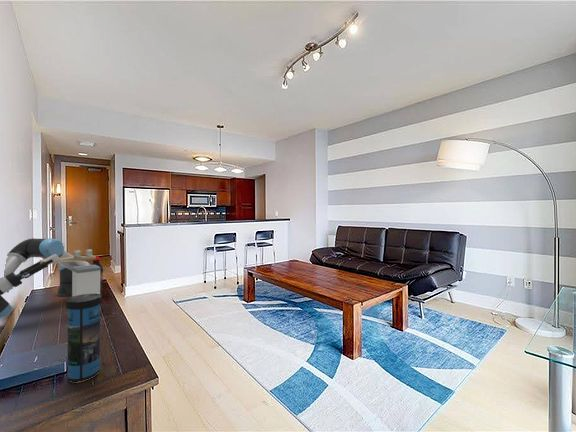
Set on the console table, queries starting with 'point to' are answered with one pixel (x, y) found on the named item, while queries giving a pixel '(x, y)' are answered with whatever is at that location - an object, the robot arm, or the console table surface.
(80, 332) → the advertising column
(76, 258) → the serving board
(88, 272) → the grey-banded white block
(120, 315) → the console table surface
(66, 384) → the console table surface
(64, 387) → the console table surface
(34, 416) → the console table surface
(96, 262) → the cola bottle
